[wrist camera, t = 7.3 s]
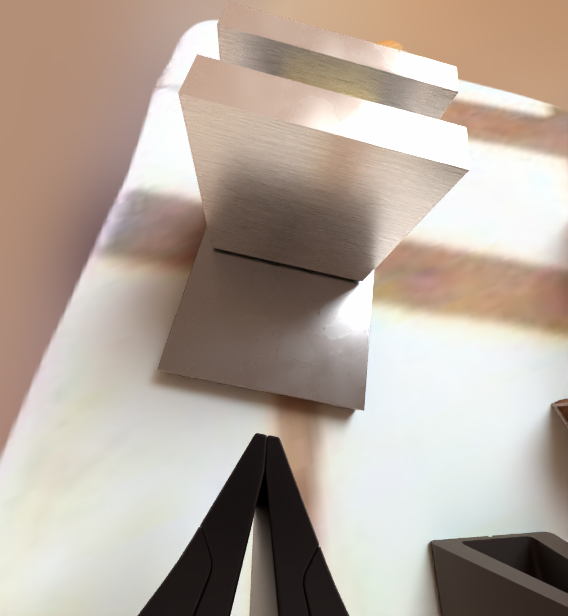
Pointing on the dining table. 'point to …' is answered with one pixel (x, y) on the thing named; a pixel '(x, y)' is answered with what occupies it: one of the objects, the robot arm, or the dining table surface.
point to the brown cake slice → (562, 410)
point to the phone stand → (503, 575)
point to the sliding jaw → (312, 168)
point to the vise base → (281, 277)
